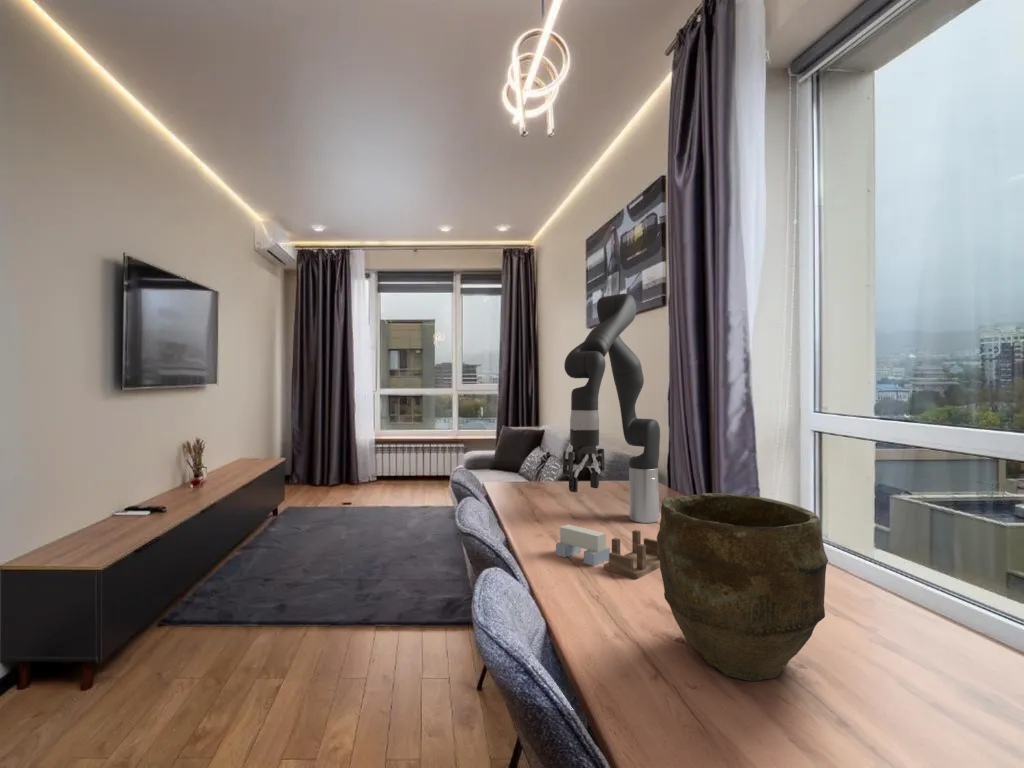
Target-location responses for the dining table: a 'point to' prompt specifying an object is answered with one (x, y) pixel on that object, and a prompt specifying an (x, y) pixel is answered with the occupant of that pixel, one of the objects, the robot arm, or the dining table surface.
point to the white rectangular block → (583, 538)
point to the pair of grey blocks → (589, 555)
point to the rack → (634, 557)
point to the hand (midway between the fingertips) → (584, 489)
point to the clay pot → (742, 578)
